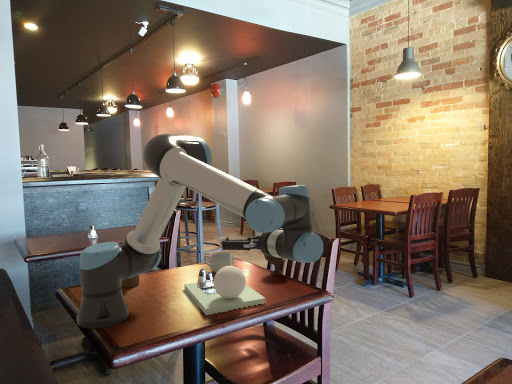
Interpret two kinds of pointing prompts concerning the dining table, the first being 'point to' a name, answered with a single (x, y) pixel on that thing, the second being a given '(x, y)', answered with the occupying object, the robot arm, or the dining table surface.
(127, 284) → the mug
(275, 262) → the ice cream bowl
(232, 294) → the ball
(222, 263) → the teacup
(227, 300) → the putting deck
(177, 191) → the robot arm
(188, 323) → the dining table surface
